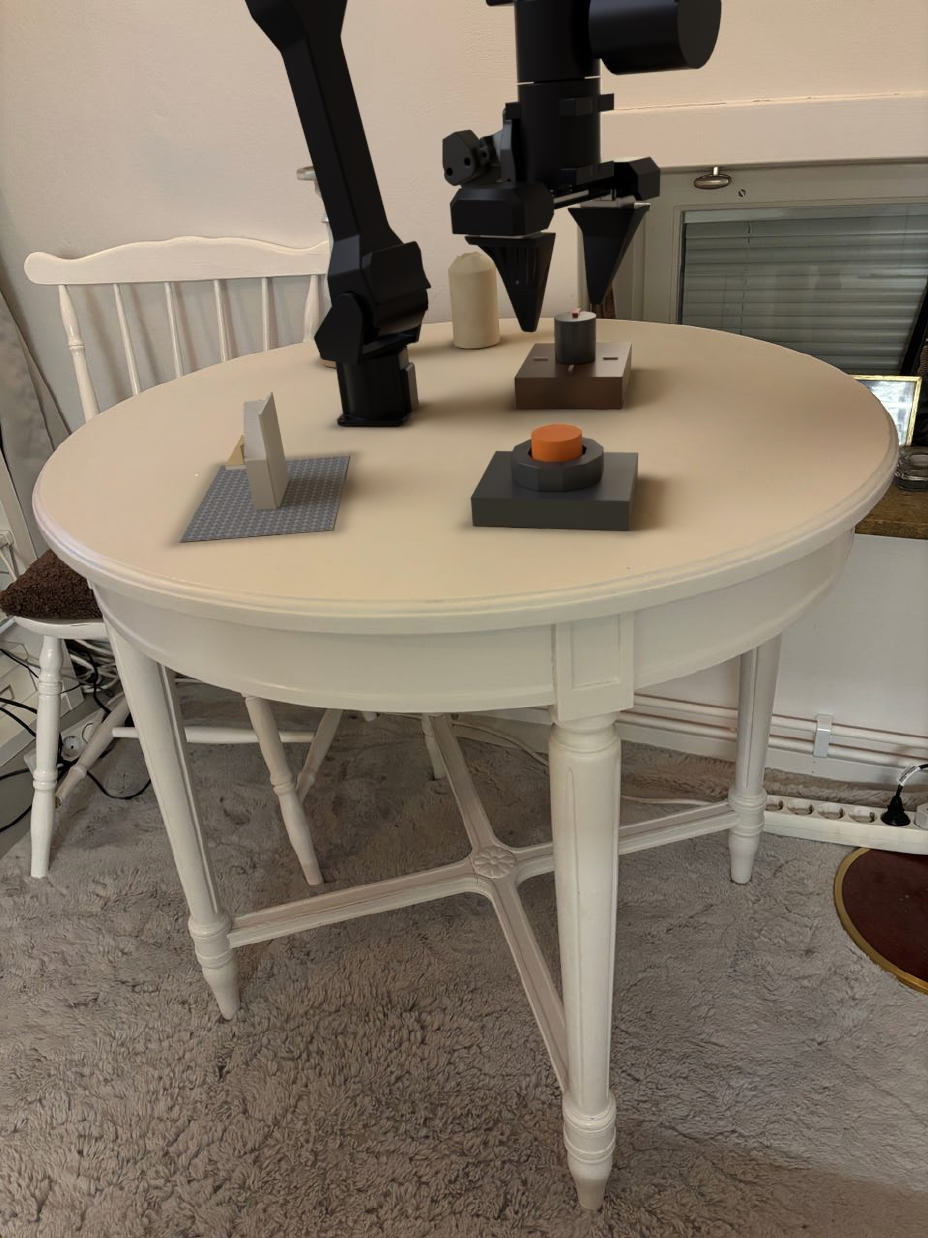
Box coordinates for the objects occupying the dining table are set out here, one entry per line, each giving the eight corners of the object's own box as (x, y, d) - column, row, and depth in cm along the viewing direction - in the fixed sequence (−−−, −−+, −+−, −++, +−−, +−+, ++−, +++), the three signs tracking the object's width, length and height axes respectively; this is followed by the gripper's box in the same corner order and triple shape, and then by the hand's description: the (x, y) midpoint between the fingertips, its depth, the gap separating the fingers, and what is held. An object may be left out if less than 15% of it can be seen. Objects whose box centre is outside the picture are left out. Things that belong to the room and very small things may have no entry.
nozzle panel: (515, 408, 86) (513, 375, 84) (535, 371, 96) (534, 341, 94) (621, 408, 83) (622, 374, 82) (631, 370, 93) (631, 339, 92)
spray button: (528, 464, 64) (527, 441, 63) (536, 446, 67) (535, 423, 66) (579, 465, 63) (578, 441, 62) (585, 446, 66) (584, 423, 65)
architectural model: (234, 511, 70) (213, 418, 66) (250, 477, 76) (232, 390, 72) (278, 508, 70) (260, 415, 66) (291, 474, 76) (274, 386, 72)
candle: (500, 347, 105) (495, 256, 100) (453, 350, 105) (446, 259, 100) (499, 335, 110) (494, 247, 105) (454, 338, 110) (447, 251, 105)
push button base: (472, 525, 64) (468, 473, 62) (497, 476, 72) (494, 428, 70) (628, 530, 62) (630, 476, 60) (637, 479, 69) (638, 429, 67)
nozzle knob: (593, 363, 86) (593, 317, 84) (551, 364, 87) (550, 318, 85) (598, 352, 89) (598, 307, 87) (558, 352, 90) (557, 308, 88)
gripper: (540, 79, 72) (546, 285, 80) (378, 97, 60) (404, 336, 68) (667, 69, 65) (660, 294, 73) (513, 87, 53) (525, 352, 61)
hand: (564, 317), depth 69 cm, fingers open, 9 cm apart
